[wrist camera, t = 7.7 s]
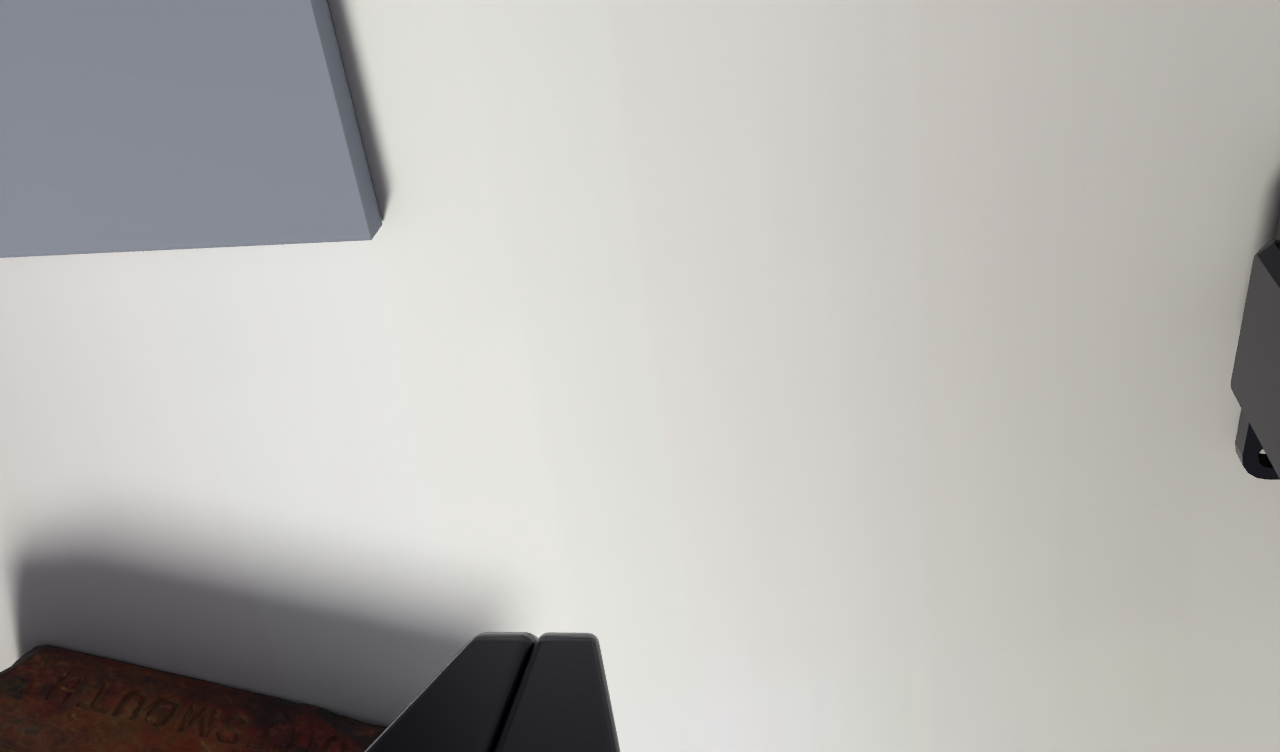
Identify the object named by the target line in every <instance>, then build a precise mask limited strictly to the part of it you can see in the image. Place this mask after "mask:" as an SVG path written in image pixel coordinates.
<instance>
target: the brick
mask: <svg viewBox="0 0 1280 752" xmlns="http://www.w3.org/2000/svg"><path fill="white" fill-rule="evenodd" d="M387 728H388V727H381V726H375V725H369V724H364V723H362V722H359V721H356V720H353V719H350V718H347V717H343V716H340V715H337V714H335V713H332V712H330V711H328V710H324V709H320V708H317V707H314V706H311V705H307V704H296V703H293V702H289V701H286V700H283V699H279V698H275V697H270V696H265V695H260V694H254V693H250V692H246V691H242V690H237V689H233V688H229V687H226V686H222V685H219V684H215V683H211V682H207V681H202V680H197V679H192V678H188V677H184V676H179V675H175V674H171V673H166V672H162V671H157V670H153V669H148V668H144V667H140V666H135V665H131V664H127V663H122V662H118V661H114V660H109V659H105V658H100V657H96V656H91V655H86V654H81V653H77V652H72V651H68V650H63V649H59V648H54V647H50V646H39V647H34V648H33V649H32V650H30V651H29V652H27V653H26V654H25V655H23V656H22V657H21V658H20V659H18V660H17V661H16V662H15V663H14V664H13V665H12V666H11V667H9V668H8V669H6V670H4V671H2V672H0V752H365V751H366V750H367V749H368V747H369V746H370V745H371V744H372V743H373V742H374V741H375V740H376V739H377V738H378V737H379V736H380V735H381V734H382V733H383V732H384V731H385V730H386V729H387Z"/></svg>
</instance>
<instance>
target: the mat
mask: <svg viewBox="0 0 1280 752" xmlns="http://www.w3.org/2000/svg"><path fill="white" fill-rule="evenodd" d="M381 225H382V221H381V217H380V213H379V209H378V205H377V201H376V197H375V193H374V189H373V185H372V181H371V177H370V173H369V169H368V164H367V160H366V156H365V152H364V148H363V144H362V140H361V136H360V132H359V128H358V124H357V120H356V116H355V112H354V108H353V104H352V100H351V96H350V92H349V88H348V84H347V80H346V76H345V72H344V68H343V64H342V59H341V55H340V51H339V47H338V43H337V39H336V35H335V31H334V27H333V23H332V19H331V15H330V11H329V7H328V3H327V0H0V258H5V257H26V256H47V255H68V254H88V253H109V252H130V251H151V250H172V249H193V248H214V247H235V246H256V245H276V244H297V243H318V242H339V241H360V240H372V238H373V237H374V235H375V234H376V233H377V231H378V230H379V228H380V227H381Z"/></svg>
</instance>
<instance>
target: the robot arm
mask: <svg viewBox="0 0 1280 752" xmlns="http://www.w3.org/2000/svg"><path fill="white" fill-rule="evenodd" d="M1231 388H1232V391H1233V393H1234V395H1235V396H1236V398H1237V400H1238V402H1239V404H1240V406H1241V408H1242V410H1241V415H1240V420H1239V425H1238V431H1237V436H1236V441H1235V446H1236V453H1237V455H1238V457H1239V459H1240V461H1241V463H1242V465H1243V466H1244V468H1245V469H1246V471H1247V472H1248V473H1249V474H1251V475H1253V476H1255V477H1257V478H1261V479H1269V480H1275V479H1280V214H1279V219H1278V224H1277V229H1276V234H1275V239H1274V240H1270V241H1269V242H1268V243H1267V244H1266V245H1265V246H1264V247H1263V248H1262V249H1261V250H1260V251H1259V252H1258V253H1257V254H1256V255H1255V256H1254V260H1253V265H1252V271H1251V276H1250V282H1249V287H1248V292H1247V298H1246V303H1245V309H1244V314H1243V319H1242V325H1241V330H1240V336H1239V341H1238V346H1237V352H1236V357H1235V363H1234V368H1233V373H1232V379H1231ZM1262 449H1264V451H1265V453H1266V454H1261V453H1260V451H1261V450H1262ZM365 752H620V748H619V743H618V737H617V732H616V727H615V722H614V717H613V712H612V707H611V701H610V696H609V691H608V686H607V681H606V676H605V670H604V665H603V660H602V655H601V650H600V645H599V641H598V639H597V637H596V636H595V635H593V634H591V633H544V634H543V635H541V636H540V637H539V638H537V637H536V636H535V635H533V634H531V633H527V632H485V633H481V634H479V635H477V636H476V637H474V638H473V639H472V640H470V641H469V642H468V643H467V644H466V646H465V647H464V648H463V649H462V650H461V651H460V652H459V653H458V654H457V655H456V656H455V657H454V658H453V659H452V660H451V661H450V662H449V663H448V664H447V666H446V667H445V668H444V669H443V670H442V671H441V672H440V673H439V674H438V675H437V676H436V677H435V678H434V679H433V680H432V681H431V682H430V683H429V684H428V685H427V687H426V688H425V689H424V690H423V691H422V692H421V693H420V694H419V695H418V696H417V697H416V698H415V699H414V700H413V701H412V702H411V703H410V704H409V705H408V706H407V708H406V709H405V710H404V711H403V712H402V713H401V714H400V715H399V716H398V717H397V718H396V719H395V720H394V721H393V722H392V723H391V724H390V725H389V726H388V728H387V729H386V730H385V731H384V732H383V733H382V734H381V735H380V736H379V737H378V738H377V739H376V740H375V741H374V742H373V743H372V744H371V745H370V746H369V747H368V749H367V750H366V751H365Z"/></svg>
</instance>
